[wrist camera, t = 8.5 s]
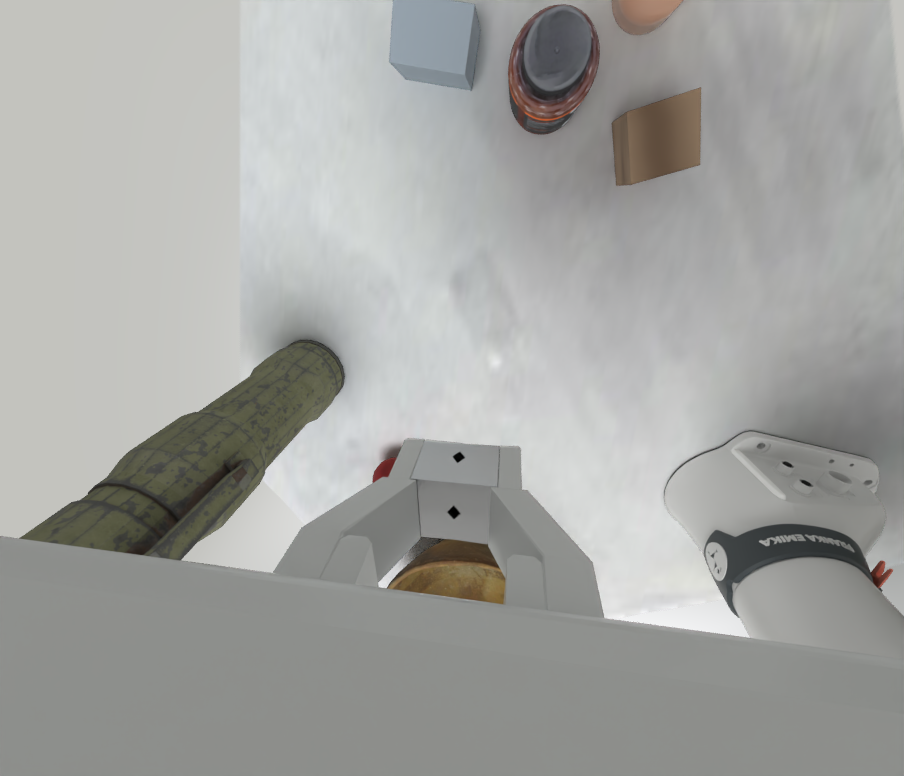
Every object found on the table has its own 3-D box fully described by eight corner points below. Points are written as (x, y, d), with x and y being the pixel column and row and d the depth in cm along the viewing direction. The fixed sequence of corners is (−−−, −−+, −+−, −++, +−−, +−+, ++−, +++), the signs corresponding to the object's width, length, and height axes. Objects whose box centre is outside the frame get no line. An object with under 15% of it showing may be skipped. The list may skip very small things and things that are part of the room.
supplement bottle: (588, 114, 32) (620, 81, 22) (522, 148, 34) (525, 131, 24) (569, 32, 30) (595, -46, 20) (500, 73, 32) (492, 20, 22)
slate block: (480, 31, 31) (474, 4, 26) (471, 90, 33) (464, 75, 28) (410, 19, 31) (393, -9, 27) (405, 79, 33) (389, 62, 29)
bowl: (546, 598, 63) (551, 663, 54) (418, 596, 68) (404, 655, 59) (532, 501, 53) (536, 562, 45) (385, 507, 58) (363, 563, 50)
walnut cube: (674, 102, 31) (701, 87, 27) (675, 168, 33) (700, 164, 29) (611, 123, 32) (626, 112, 28) (616, 185, 34) (631, 184, 30)
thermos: (259, 353, 49) (-177, 626, 18) (334, 327, 45) (-46, 607, 15) (293, 409, 52) (-23, 717, 21) (365, 388, 49) (113, 720, 18)
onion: (389, 479, 56) (371, 520, 49) (376, 448, 53) (356, 487, 46) (425, 476, 54) (412, 518, 47) (414, 444, 52) (399, 483, 45)
